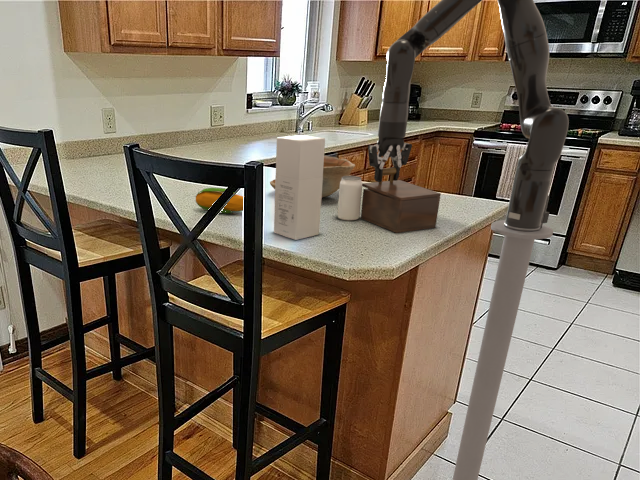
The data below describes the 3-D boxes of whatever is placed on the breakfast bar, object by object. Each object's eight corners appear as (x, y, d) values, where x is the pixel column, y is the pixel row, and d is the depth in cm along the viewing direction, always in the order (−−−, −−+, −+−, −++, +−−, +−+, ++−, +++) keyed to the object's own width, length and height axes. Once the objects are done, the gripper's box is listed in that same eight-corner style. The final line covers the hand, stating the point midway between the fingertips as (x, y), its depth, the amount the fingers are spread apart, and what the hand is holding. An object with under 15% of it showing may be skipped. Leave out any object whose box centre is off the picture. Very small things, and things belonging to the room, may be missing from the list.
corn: (201, 182, 166) (260, 187, 159) (202, 205, 170) (260, 211, 162) (190, 188, 160) (251, 194, 153) (192, 212, 164) (251, 219, 156)
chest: (360, 218, 156) (363, 188, 152) (397, 213, 161) (400, 185, 157) (396, 233, 142) (400, 201, 139) (435, 227, 147) (440, 196, 143)
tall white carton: (319, 234, 141) (325, 138, 131) (295, 240, 136) (300, 140, 126) (297, 227, 147) (301, 134, 137) (273, 232, 142) (276, 137, 132)
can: (352, 214, 160) (355, 174, 155) (363, 219, 154) (367, 178, 150) (333, 216, 158) (336, 176, 153) (343, 221, 153) (347, 180, 148)
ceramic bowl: (257, 184, 192) (266, 142, 187) (323, 193, 201) (333, 153, 195) (286, 205, 166) (297, 158, 161) (360, 214, 175) (373, 169, 169)
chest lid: (361, 186, 153) (363, 168, 151) (399, 182, 158) (401, 165, 156) (400, 200, 139) (403, 181, 136) (440, 196, 143) (443, 177, 141)
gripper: (380, 122, 140) (373, 185, 147) (422, 119, 145) (414, 181, 152) (363, 119, 147) (358, 180, 154) (405, 117, 152) (397, 176, 159)
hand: (386, 180), depth 153 cm, fingers closed on chest lid, 5 cm apart
